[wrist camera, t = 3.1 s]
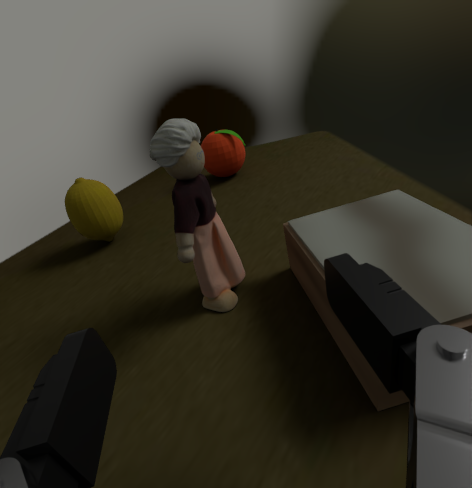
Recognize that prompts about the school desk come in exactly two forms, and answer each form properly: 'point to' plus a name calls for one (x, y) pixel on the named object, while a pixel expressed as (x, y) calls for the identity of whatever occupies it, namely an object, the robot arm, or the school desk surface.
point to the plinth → (386, 265)
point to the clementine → (223, 153)
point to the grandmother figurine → (197, 215)
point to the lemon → (93, 209)
